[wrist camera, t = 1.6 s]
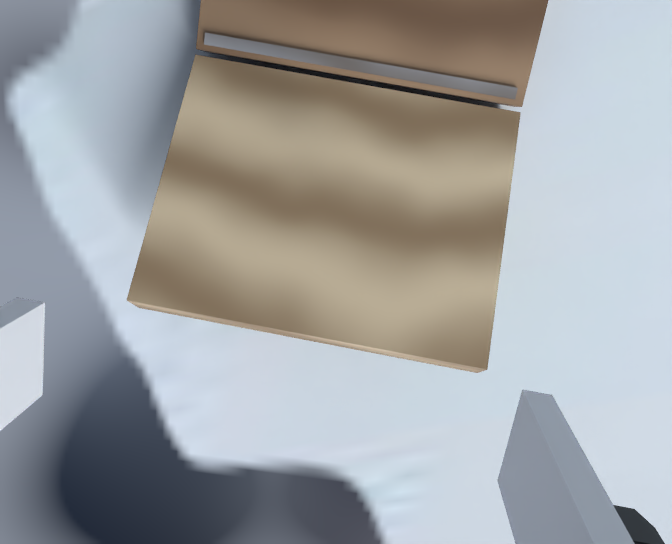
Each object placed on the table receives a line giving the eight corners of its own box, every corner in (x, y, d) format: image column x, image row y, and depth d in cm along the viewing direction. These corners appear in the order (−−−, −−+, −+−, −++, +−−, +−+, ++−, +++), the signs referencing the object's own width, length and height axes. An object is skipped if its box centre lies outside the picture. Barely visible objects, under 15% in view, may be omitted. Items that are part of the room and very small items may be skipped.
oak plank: (202, 74, 35) (195, 54, 34) (509, 129, 35) (520, 112, 33) (138, 307, 32) (126, 300, 30) (477, 372, 32) (487, 369, 30)
